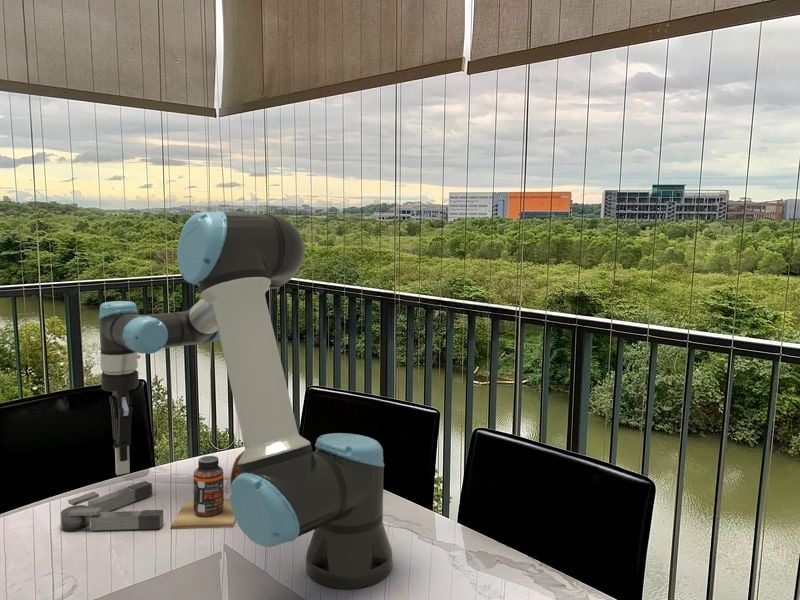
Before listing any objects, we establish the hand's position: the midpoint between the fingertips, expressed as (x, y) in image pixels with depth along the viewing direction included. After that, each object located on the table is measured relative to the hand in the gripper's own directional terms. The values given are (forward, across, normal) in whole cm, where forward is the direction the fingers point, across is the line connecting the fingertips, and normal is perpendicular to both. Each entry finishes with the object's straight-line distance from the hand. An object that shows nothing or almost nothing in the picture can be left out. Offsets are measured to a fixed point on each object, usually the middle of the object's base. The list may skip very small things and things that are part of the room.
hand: (122, 472), depth 137 cm
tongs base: (+4, -17, +5) cm, 18 cm away
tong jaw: (+4, -9, +4) cm, 10 cm away
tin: (+4, -12, -25) cm, 28 cm away
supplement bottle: (+3, -23, -13) cm, 26 cm away
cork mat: (+4, -23, -12) cm, 26 cm away
